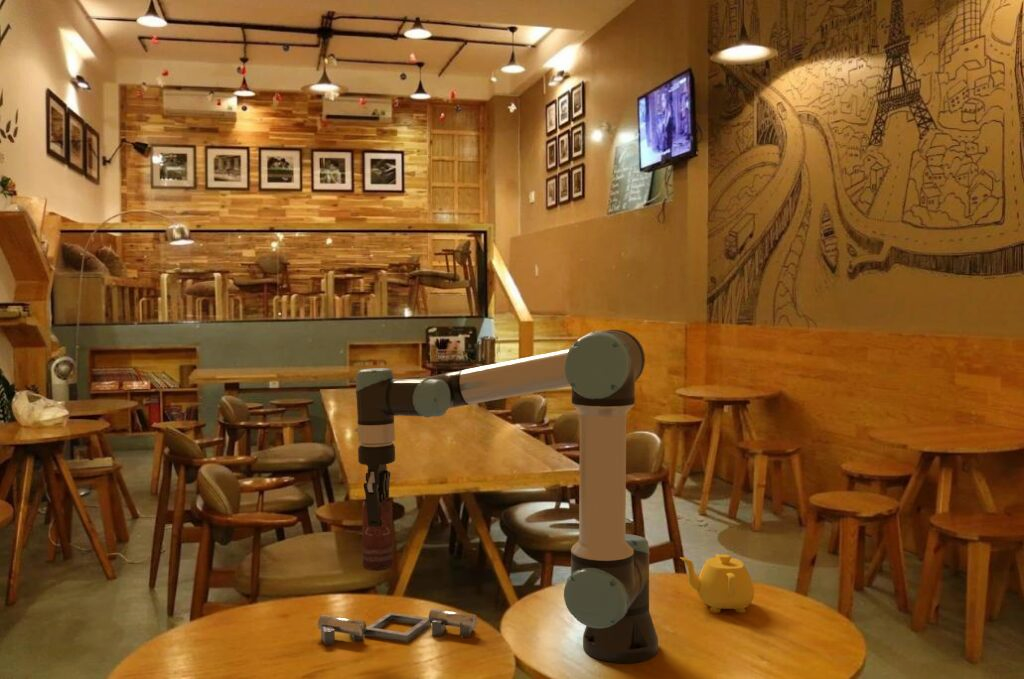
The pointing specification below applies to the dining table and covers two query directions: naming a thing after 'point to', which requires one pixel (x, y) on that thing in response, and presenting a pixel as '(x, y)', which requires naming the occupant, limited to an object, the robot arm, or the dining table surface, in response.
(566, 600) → the robot arm
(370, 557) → the can
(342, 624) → the coupling rig
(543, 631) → the dining table surface
